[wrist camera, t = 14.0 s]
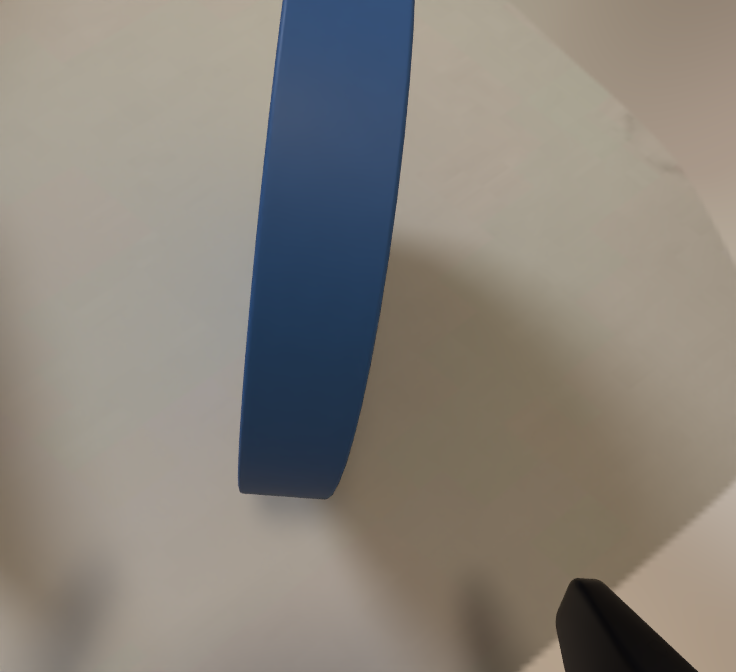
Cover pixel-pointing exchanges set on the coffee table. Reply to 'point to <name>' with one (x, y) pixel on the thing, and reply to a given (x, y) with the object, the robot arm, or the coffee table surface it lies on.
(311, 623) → the coffee table surface
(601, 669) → the robot arm
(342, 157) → the disc
